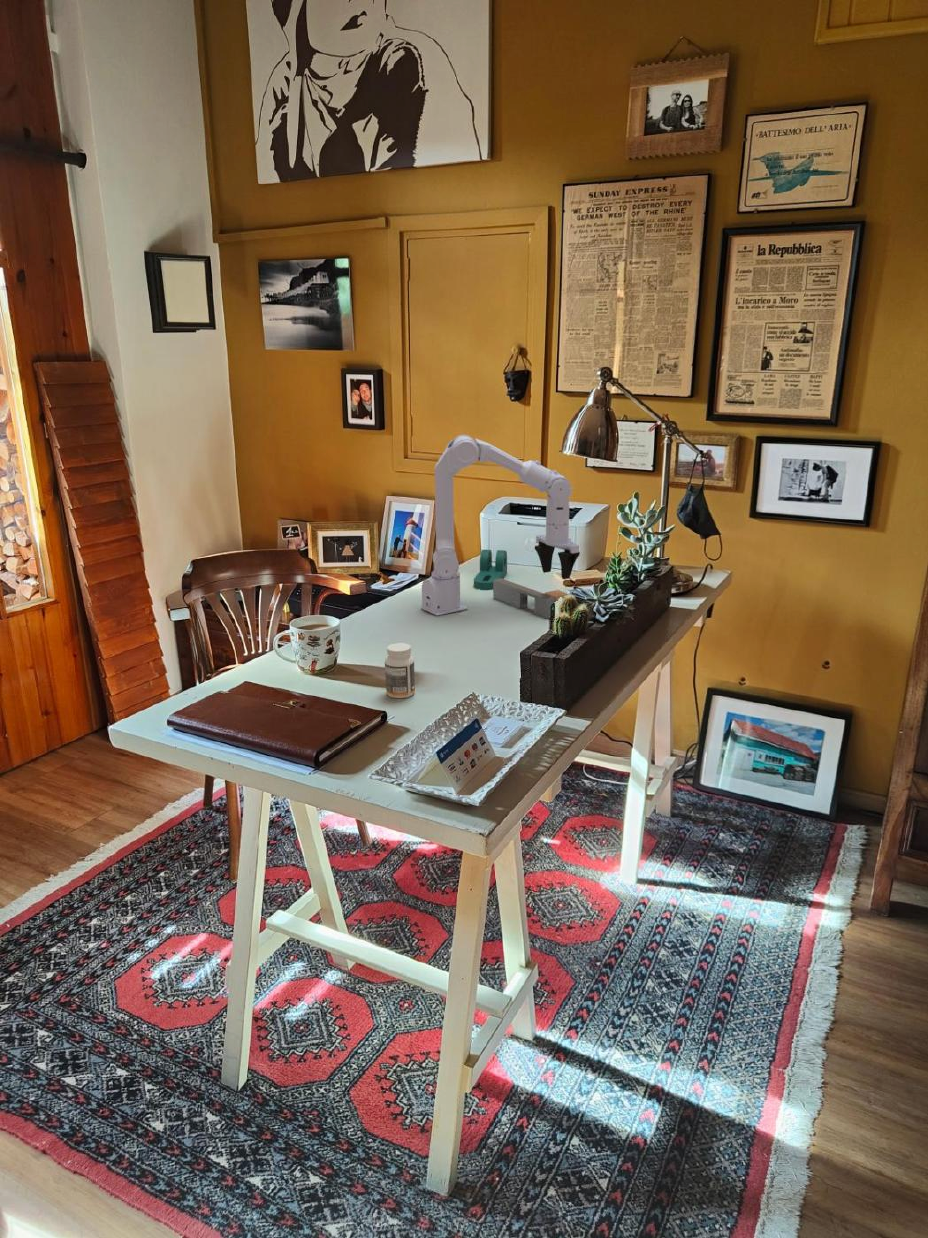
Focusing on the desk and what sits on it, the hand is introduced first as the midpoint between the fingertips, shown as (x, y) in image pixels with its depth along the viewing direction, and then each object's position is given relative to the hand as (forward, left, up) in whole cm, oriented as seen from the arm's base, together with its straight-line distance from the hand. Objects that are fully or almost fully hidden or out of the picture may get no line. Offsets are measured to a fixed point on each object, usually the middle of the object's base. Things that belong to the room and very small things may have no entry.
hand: (556, 575), depth 228 cm
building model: (-8, +3, -8) cm, 12 cm away
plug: (-2, 0, -8) cm, 8 cm away
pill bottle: (-62, -27, -8) cm, 68 cm away
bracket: (0, +29, -8) cm, 30 cm away
